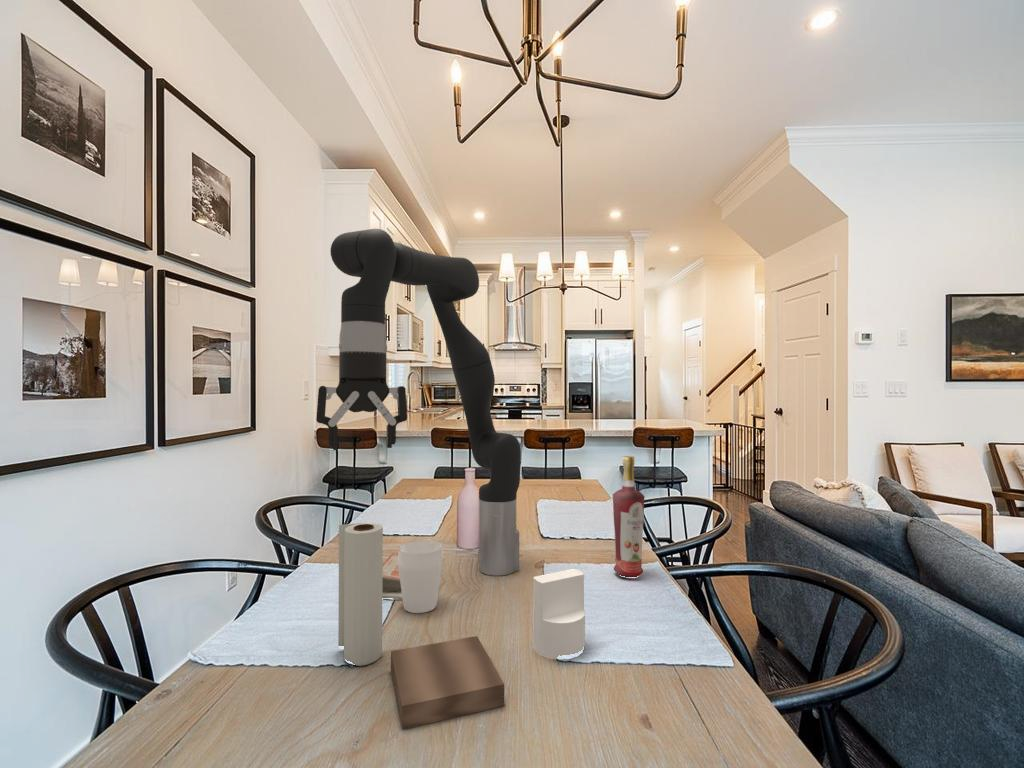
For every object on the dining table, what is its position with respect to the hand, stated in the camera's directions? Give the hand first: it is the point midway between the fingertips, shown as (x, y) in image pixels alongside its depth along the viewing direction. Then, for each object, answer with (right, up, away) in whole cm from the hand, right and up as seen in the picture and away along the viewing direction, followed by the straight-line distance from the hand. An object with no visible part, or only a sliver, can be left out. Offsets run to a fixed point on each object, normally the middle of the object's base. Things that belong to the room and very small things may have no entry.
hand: (362, 448), depth 81 cm
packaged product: (-2, -35, +30) cm, 46 cm away
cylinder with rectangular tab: (+33, -35, +3) cm, 48 cm away
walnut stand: (+15, -34, -9) cm, 38 cm away
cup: (+6, -35, +18) cm, 39 cm away
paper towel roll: (0, -34, 0) cm, 34 cm away
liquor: (+52, -35, +34) cm, 72 cm away
